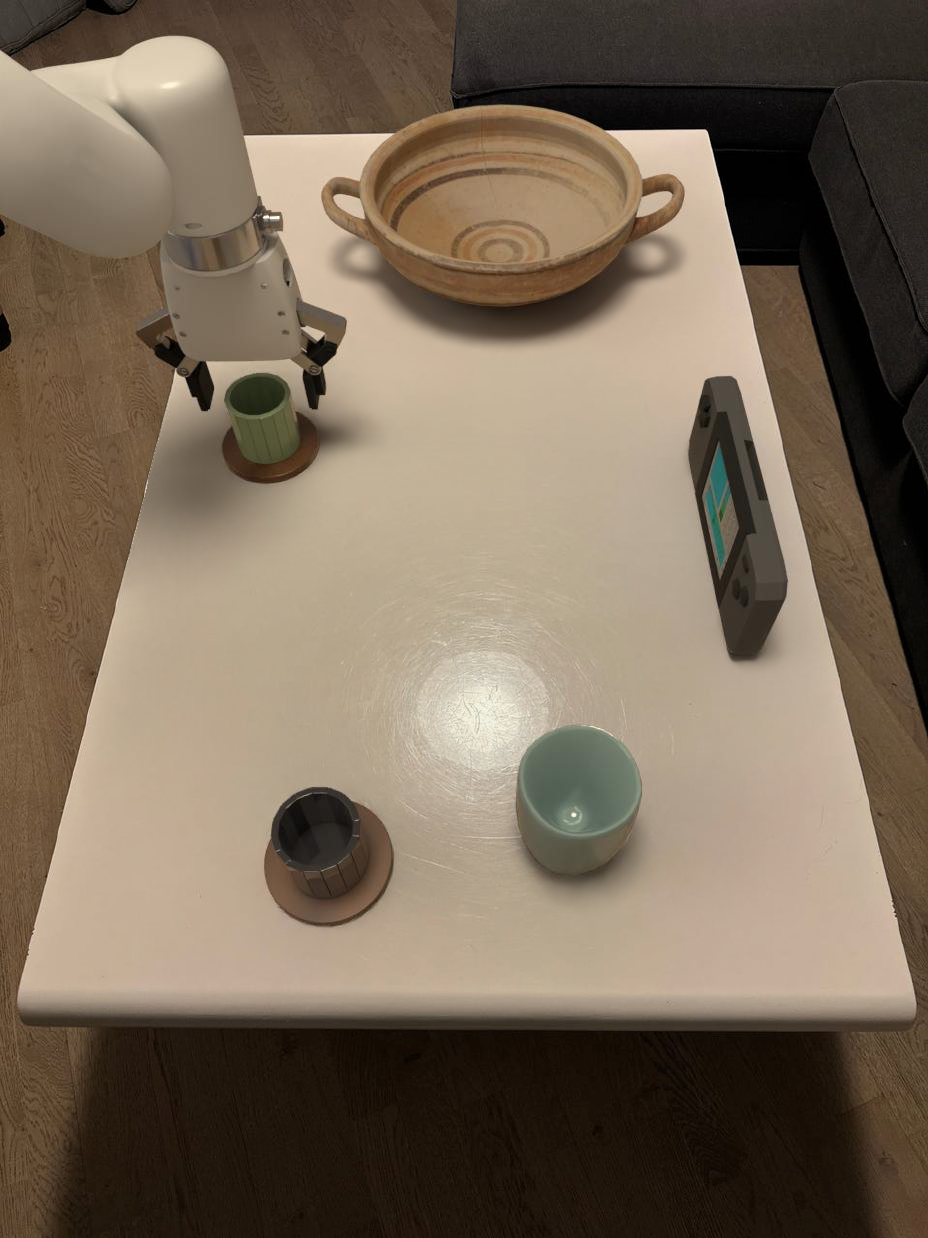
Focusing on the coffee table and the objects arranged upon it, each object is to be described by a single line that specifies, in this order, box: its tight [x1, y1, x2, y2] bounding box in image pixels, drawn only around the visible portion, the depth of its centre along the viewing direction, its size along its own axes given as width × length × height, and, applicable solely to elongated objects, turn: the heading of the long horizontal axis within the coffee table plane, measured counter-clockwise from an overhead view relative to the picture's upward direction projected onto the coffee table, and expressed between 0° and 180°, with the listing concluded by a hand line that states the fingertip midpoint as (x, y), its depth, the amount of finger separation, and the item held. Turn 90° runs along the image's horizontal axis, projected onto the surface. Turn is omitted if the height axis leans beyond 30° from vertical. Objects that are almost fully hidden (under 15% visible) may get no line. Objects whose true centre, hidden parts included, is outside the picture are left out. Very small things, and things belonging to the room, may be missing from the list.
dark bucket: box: [270, 786, 369, 899], centre depth 64 cm, size 6×7×6 cm
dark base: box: [263, 800, 394, 927], centre depth 66 cm, size 9×9×1 cm
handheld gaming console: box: [688, 375, 789, 655], centre depth 77 cm, size 23×3×10 cm, turn 1°
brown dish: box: [221, 410, 320, 484], centre depth 88 cm, size 9×9×1 cm
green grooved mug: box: [223, 372, 301, 464], centre depth 86 cm, size 6×7×6 cm
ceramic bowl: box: [320, 104, 686, 307], centre depth 99 cm, size 37×29×10 cm
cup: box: [515, 724, 643, 876], centre depth 63 cm, size 8×8×10 cm
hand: (261, 399), depth 84 cm, fingers open, 9 cm apart
